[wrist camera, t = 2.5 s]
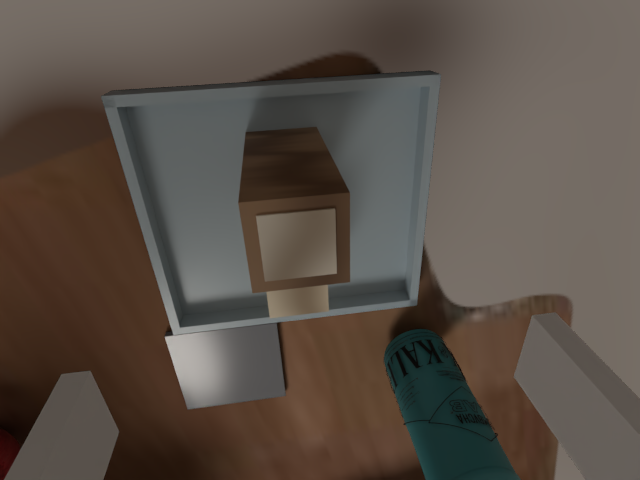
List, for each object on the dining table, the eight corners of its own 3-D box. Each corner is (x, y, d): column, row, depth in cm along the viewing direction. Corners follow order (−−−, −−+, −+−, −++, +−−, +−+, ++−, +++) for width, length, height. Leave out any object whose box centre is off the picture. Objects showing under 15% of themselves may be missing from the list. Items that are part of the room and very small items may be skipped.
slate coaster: (188, 404, 41) (187, 409, 40) (166, 332, 36) (164, 336, 35) (285, 391, 42) (285, 395, 41) (276, 318, 37) (276, 323, 36)
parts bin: (177, 319, 35) (173, 334, 34) (111, 90, 26) (101, 96, 24) (409, 292, 37) (416, 305, 36) (429, 70, 28) (441, 74, 26)
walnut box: (254, 197, 30) (252, 294, 20) (245, 132, 28) (237, 203, 17) (319, 191, 31) (350, 283, 20) (316, 126, 28) (350, 193, 18)
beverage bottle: (429, 363, 43) (544, 598, 26) (370, 363, 42) (449, 610, 24) (446, 316, 40) (590, 548, 23) (383, 315, 39) (484, 559, 21)
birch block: (268, 279, 34) (269, 318, 30) (262, 234, 32) (263, 269, 28) (320, 274, 35) (328, 311, 30) (317, 228, 32) (327, 262, 28)
